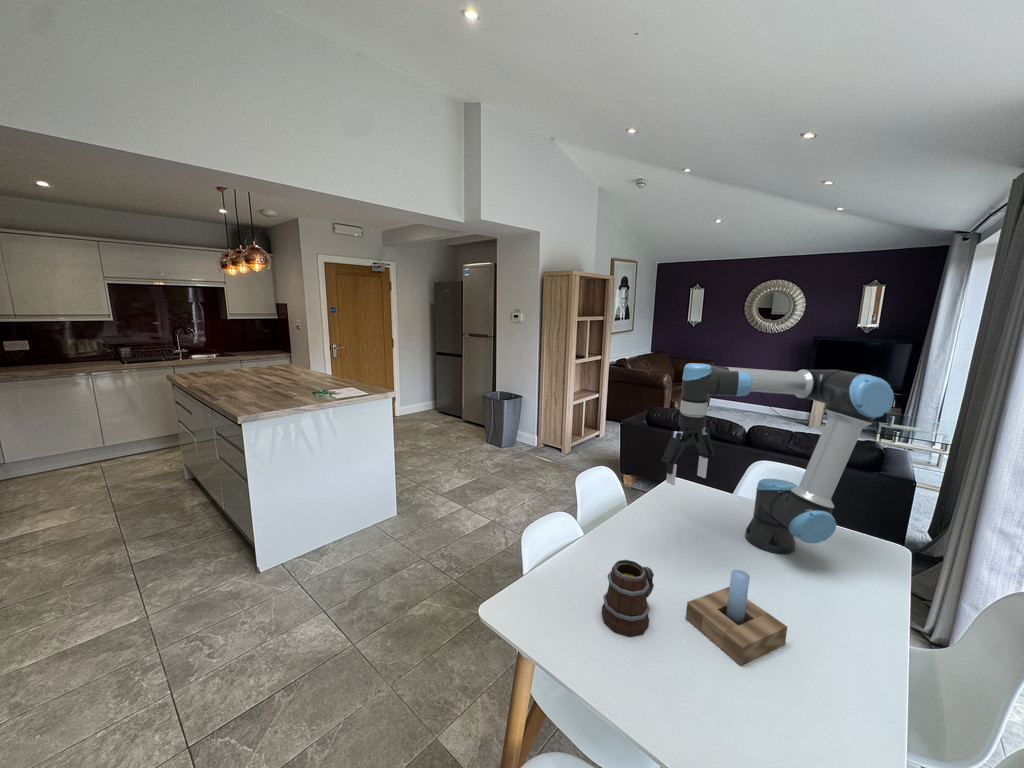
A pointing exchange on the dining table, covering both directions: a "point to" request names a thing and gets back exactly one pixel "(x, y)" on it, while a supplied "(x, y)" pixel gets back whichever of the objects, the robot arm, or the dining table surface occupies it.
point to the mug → (628, 598)
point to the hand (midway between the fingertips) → (686, 480)
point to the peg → (737, 596)
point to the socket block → (736, 627)
